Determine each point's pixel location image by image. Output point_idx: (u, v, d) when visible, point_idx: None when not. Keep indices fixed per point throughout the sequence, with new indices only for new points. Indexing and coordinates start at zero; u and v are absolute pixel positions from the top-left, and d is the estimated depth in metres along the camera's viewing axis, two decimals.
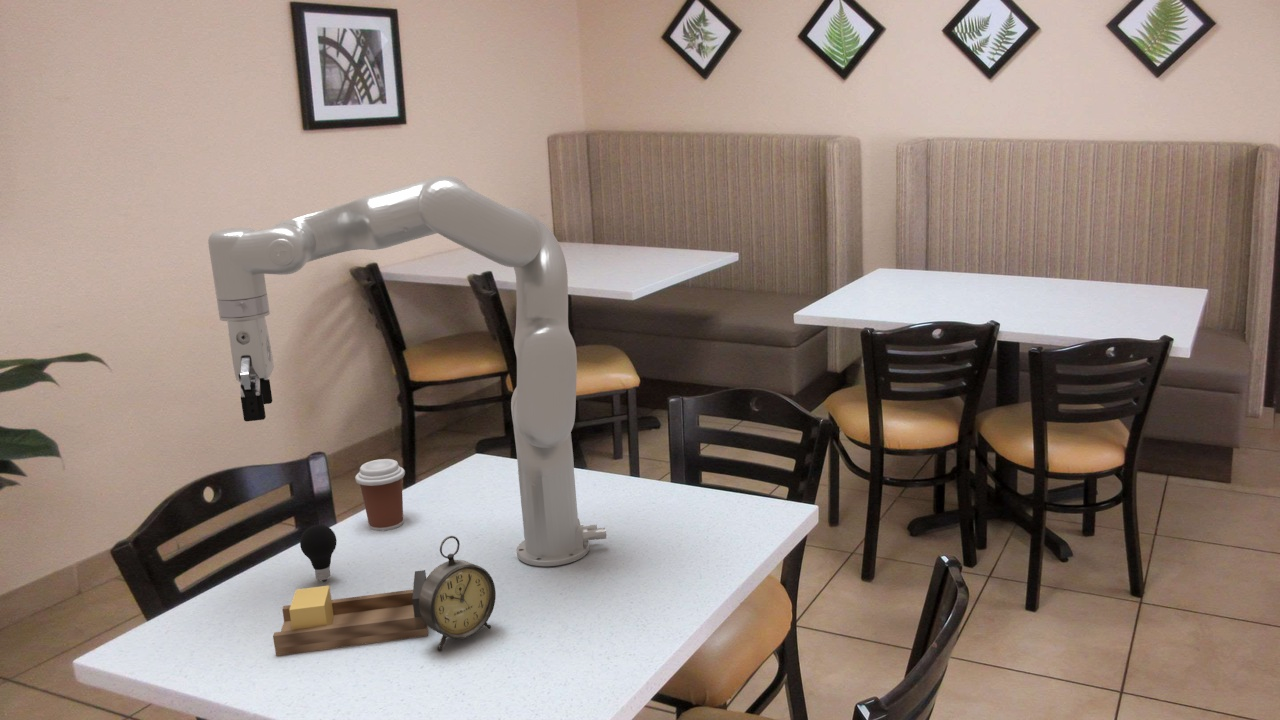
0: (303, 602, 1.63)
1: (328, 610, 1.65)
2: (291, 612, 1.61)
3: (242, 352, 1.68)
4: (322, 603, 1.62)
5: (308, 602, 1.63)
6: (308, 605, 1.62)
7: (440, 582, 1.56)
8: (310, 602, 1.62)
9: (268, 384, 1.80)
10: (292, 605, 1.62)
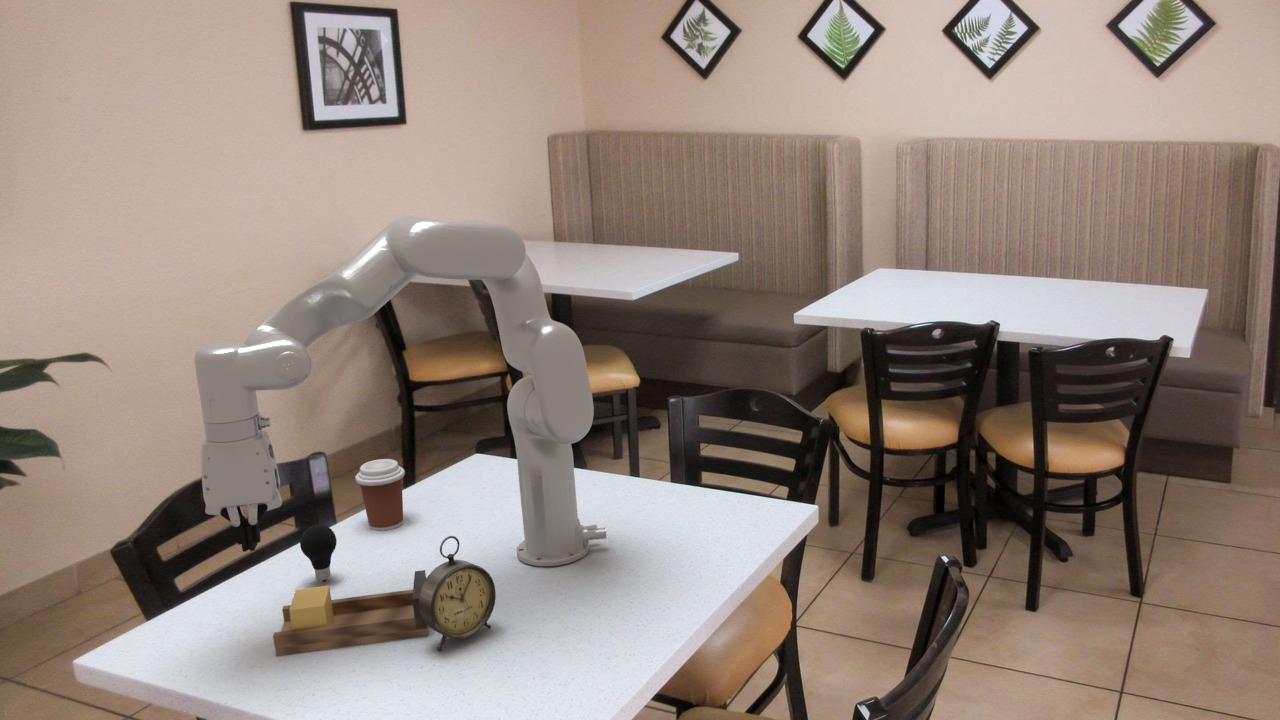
0: (303, 602, 1.63)
1: (328, 610, 1.65)
2: (291, 612, 1.61)
3: (273, 466, 1.58)
4: (322, 603, 1.62)
5: (308, 602, 1.63)
6: (308, 605, 1.62)
7: (440, 582, 1.56)
8: (310, 602, 1.62)
9: None
10: (292, 605, 1.62)
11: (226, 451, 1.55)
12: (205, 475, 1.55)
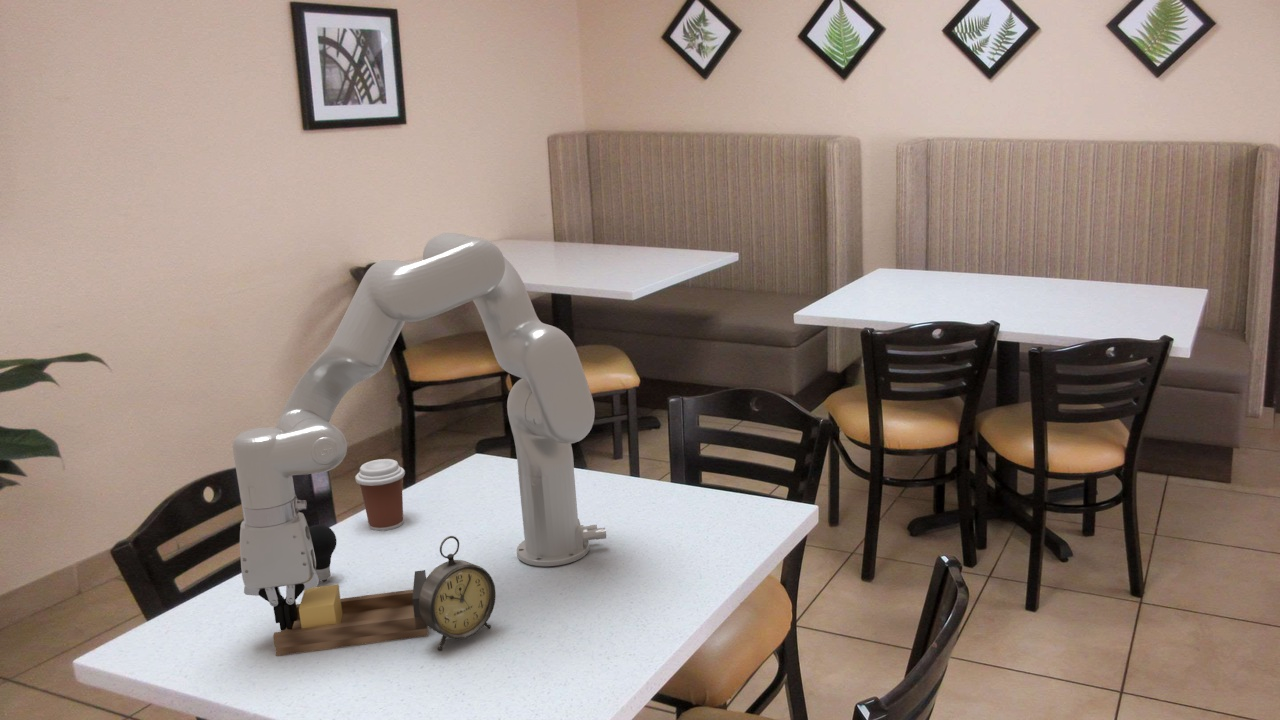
0: (313, 600, 1.63)
1: (337, 609, 1.65)
2: (301, 611, 1.61)
3: (310, 547, 1.62)
4: (331, 601, 1.62)
5: (317, 601, 1.63)
6: (317, 604, 1.62)
7: (440, 582, 1.56)
8: (319, 601, 1.63)
9: None
10: (301, 604, 1.62)
11: (264, 535, 1.58)
12: (244, 558, 1.59)
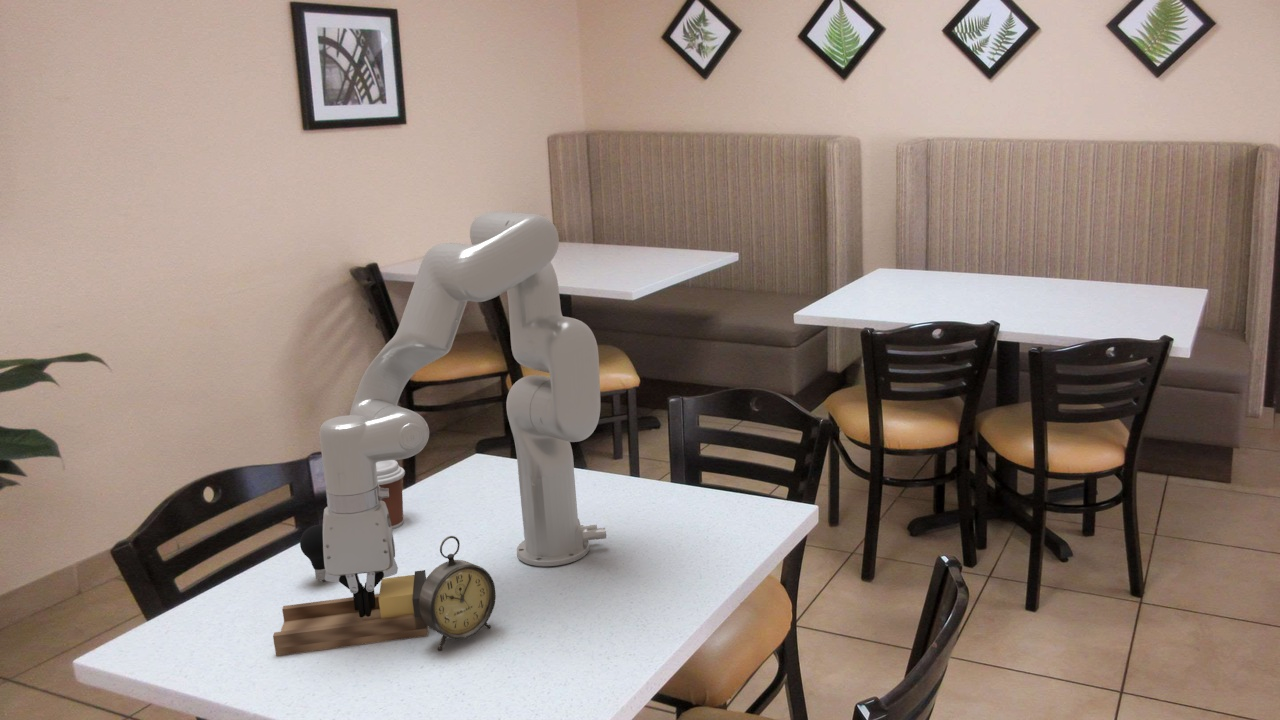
0: (391, 590, 1.65)
1: None
2: (380, 601, 1.63)
3: (391, 535, 1.64)
4: (410, 591, 1.64)
5: (396, 591, 1.64)
6: (397, 594, 1.63)
7: (440, 582, 1.56)
8: (398, 591, 1.64)
9: None
10: (381, 594, 1.64)
11: (348, 521, 1.60)
12: (327, 544, 1.61)
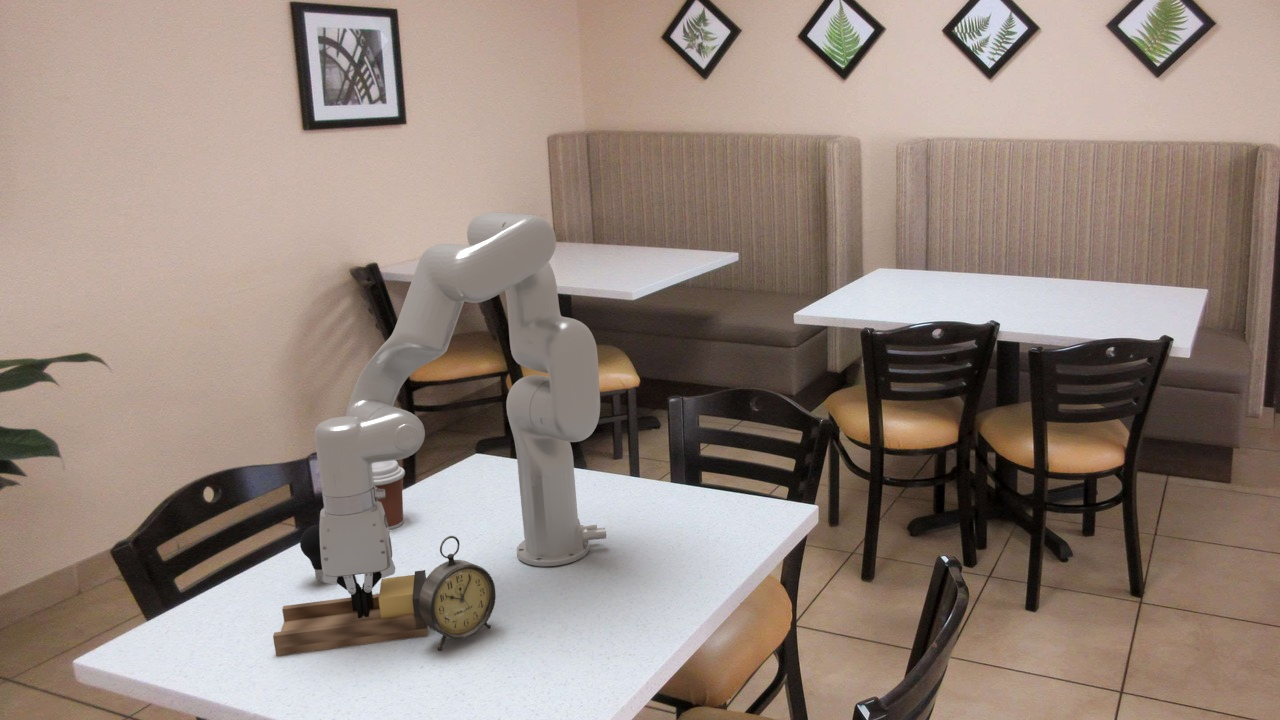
0: (391, 590, 1.65)
1: None
2: (380, 601, 1.63)
3: (388, 535, 1.64)
4: (410, 591, 1.64)
5: (396, 591, 1.64)
6: (397, 594, 1.63)
7: (440, 582, 1.56)
8: (398, 591, 1.64)
9: (361, 590, 1.67)
10: (381, 594, 1.64)
11: (345, 523, 1.60)
12: (324, 546, 1.61)
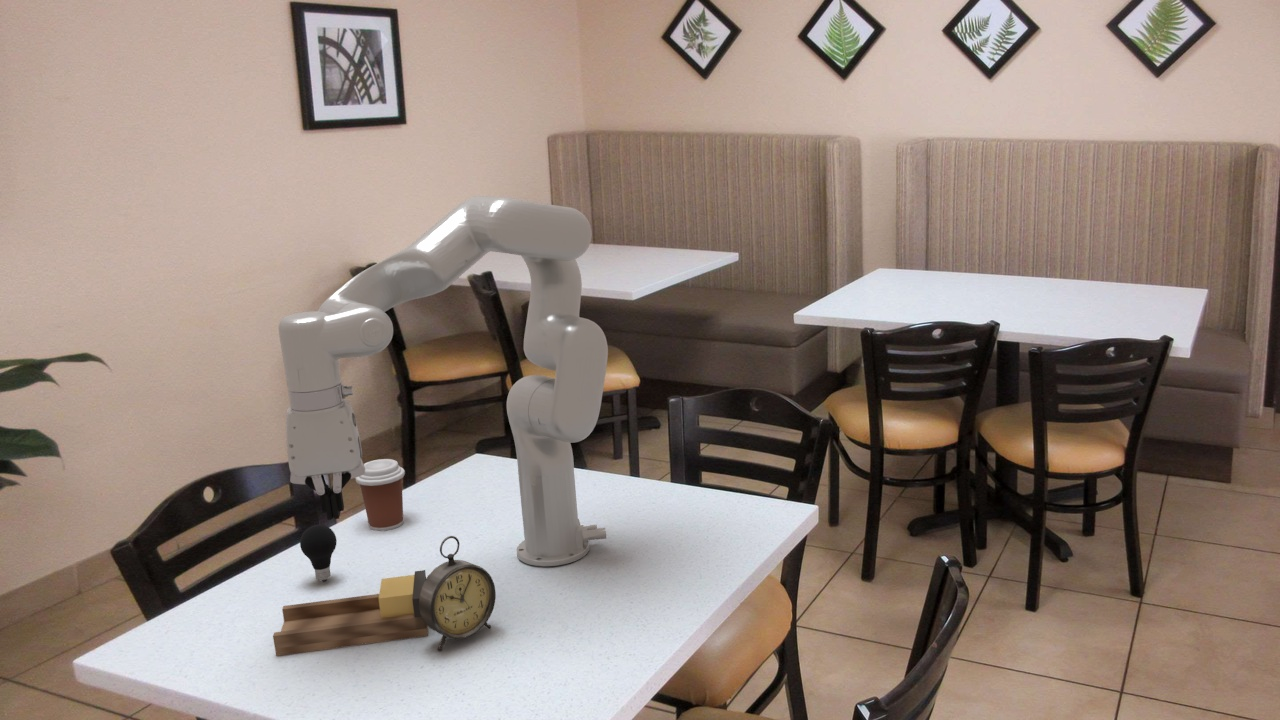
0: (391, 590, 1.65)
1: None
2: (380, 601, 1.63)
3: (357, 434, 1.59)
4: (410, 591, 1.64)
5: (396, 591, 1.64)
6: (397, 594, 1.63)
7: (440, 582, 1.56)
8: (398, 591, 1.64)
9: None
10: (381, 594, 1.64)
11: (311, 419, 1.56)
12: (290, 444, 1.57)
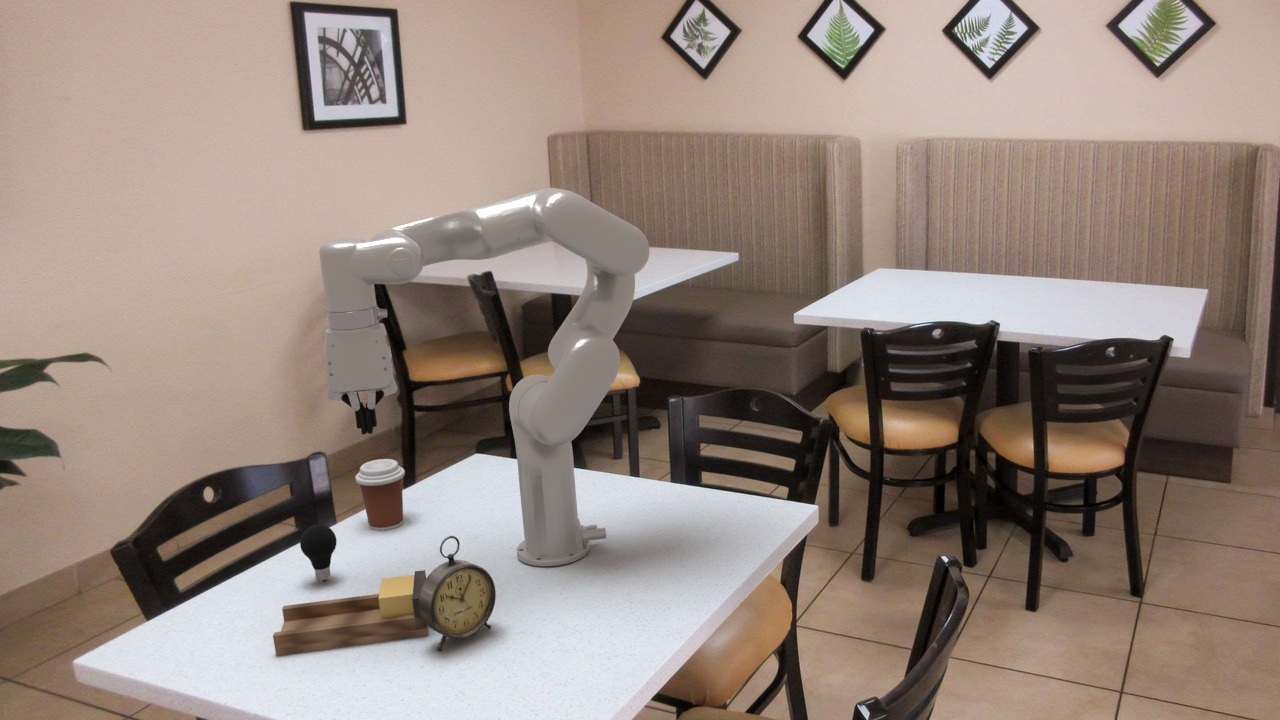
0: (391, 590, 1.65)
1: None
2: (380, 601, 1.63)
3: (390, 354, 1.72)
4: (410, 591, 1.64)
5: (396, 591, 1.64)
6: (397, 594, 1.63)
7: (440, 582, 1.56)
8: (398, 591, 1.64)
9: None
10: (381, 594, 1.64)
11: (349, 338, 1.68)
12: (329, 362, 1.69)
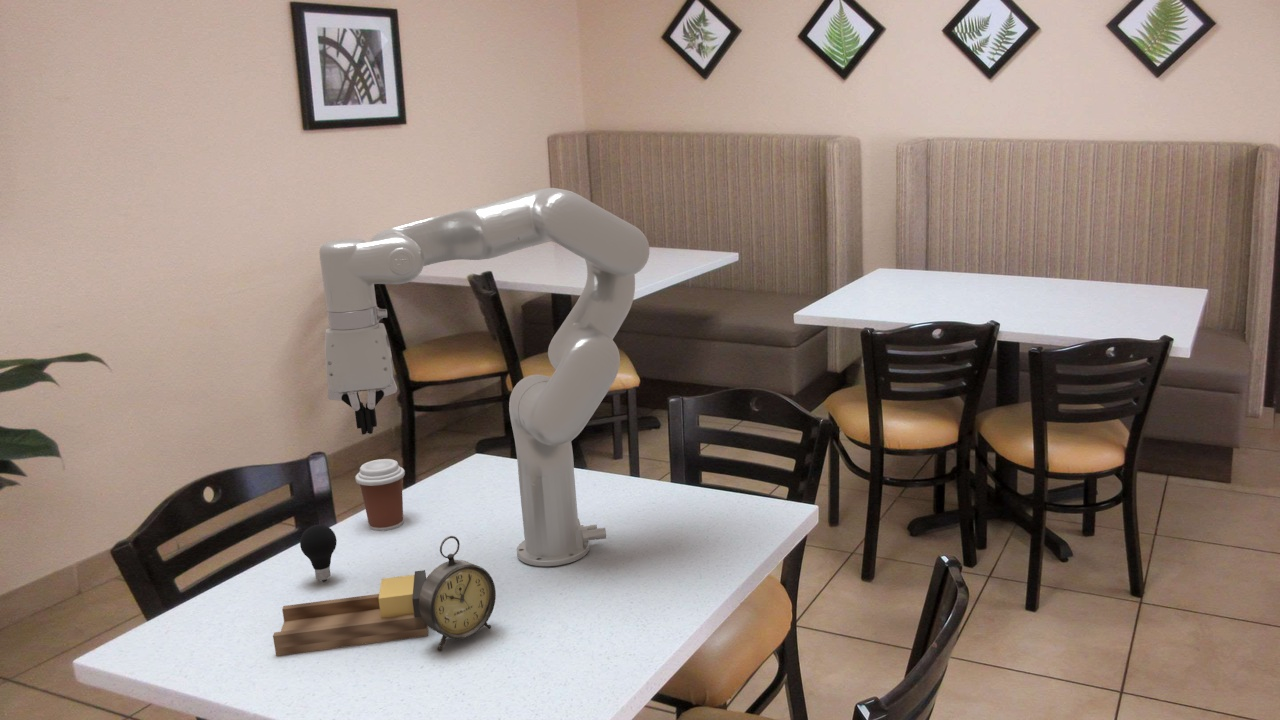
0: (391, 590, 1.65)
1: None
2: (380, 601, 1.63)
3: (390, 354, 1.72)
4: (410, 591, 1.64)
5: (396, 591, 1.64)
6: (397, 594, 1.63)
7: (440, 582, 1.56)
8: (398, 591, 1.64)
9: None
10: (381, 594, 1.64)
11: (349, 338, 1.68)
12: (329, 362, 1.69)
